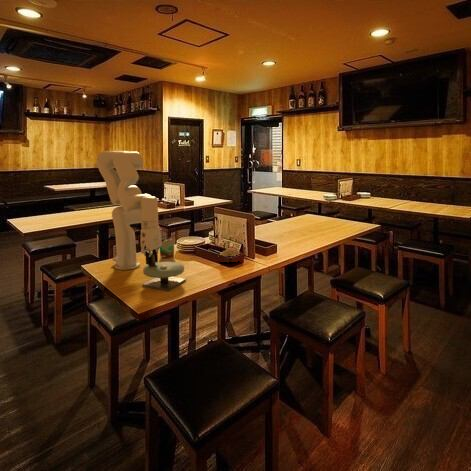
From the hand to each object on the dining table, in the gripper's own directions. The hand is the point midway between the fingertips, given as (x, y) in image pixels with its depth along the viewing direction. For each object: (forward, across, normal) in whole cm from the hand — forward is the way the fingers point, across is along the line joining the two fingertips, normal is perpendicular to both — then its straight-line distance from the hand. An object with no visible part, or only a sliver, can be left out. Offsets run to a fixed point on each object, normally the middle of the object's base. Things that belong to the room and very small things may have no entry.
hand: (152, 262), depth 168 cm
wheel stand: (+9, -1, -7) cm, 11 cm away
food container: (+9, +36, +15) cm, 40 cm away
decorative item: (+9, +42, -20) cm, 47 cm away
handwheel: (+3, -1, -7) cm, 7 cm away
